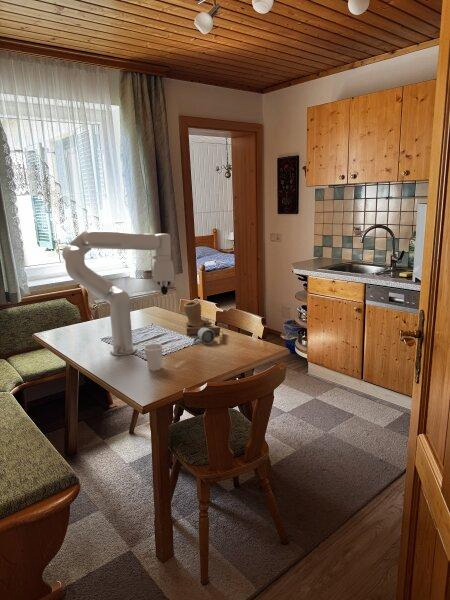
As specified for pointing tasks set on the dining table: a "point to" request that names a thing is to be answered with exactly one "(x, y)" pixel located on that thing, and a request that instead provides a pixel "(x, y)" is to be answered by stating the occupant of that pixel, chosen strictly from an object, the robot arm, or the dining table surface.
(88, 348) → the dining table surface
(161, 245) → the robot arm
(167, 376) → the dining table surface
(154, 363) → the dixie cup
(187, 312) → the tan boot
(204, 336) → the ceramic mug
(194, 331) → the trap box
